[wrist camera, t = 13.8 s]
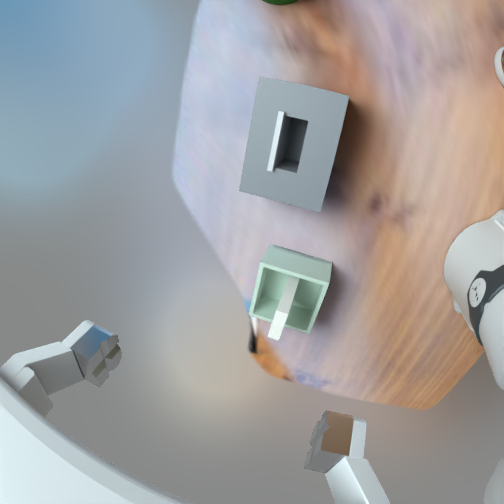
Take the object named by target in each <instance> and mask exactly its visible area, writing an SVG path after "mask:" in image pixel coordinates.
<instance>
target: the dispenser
mask: <svg viewBox="0 0 504 504" xmlns="http://www.w3.org/2000/svg"><path fill="white" fill-rule="evenodd" d="M348 99H349V96H347V95H344V94H340V93H336V92H332V91H328V90H324V89H320V88H315V87H311V86H306V85H302V84H297V83H292V82H287V81H281V80H276V79H270V78H264V77H259V81H258V86H257V92H256V97H255V103H254V108H253V114H252V119H251V125H250V131H249V136H248V142H247V148H246V154H245V160H244V165H243V171H242V177H241V183H240V189H239V191H241V192H245V193H249V194H253V195H257V196H260V197H264V198H268V199H272V200H275V201H279V202H282V203H286V204H290V205H293V206H297V207H300V208H304V209H307V210H311V211H314V212H317V213H320V211H321V208H322V204H323V200H324V197H325V193H326V189H327V185H328V182H329V178H330V174H331V170H332V166H333V162H334V158H335V154H336V150H337V146H338V142H339V138H340V134H341V130H342V126H343V121H344V117H345V113H346V108H347V104H348Z"/></svg>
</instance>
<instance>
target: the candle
mask: <svg viewBox="0 0 504 504" xmlns="http://www.w3.org/2000/svg"><path fill="white" fill-rule="evenodd" d="M263 1H264V2H267V3H270V4H275V5H285V4H290V3H293V2H295V1H297V0H263Z"/></svg>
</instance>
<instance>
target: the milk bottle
mask: <svg viewBox="0 0 504 504" xmlns="http://www.w3.org/2000/svg"><path fill="white" fill-rule="evenodd" d="M494 66H495V71H496V75H497V77H498V79H499V81H500V82H501V84H502V85H503V87H504V47H501V48H500V49H499V50H498V51H497V53H496V55H495V60H494Z"/></svg>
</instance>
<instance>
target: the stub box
mask: <svg viewBox="0 0 504 504" xmlns="http://www.w3.org/2000/svg"><path fill="white" fill-rule="evenodd" d="M331 268H332V262H329V261H326V260H323V259H319V258H316V257H313V256H309V255H306V254H303V253H300V252H296V251H293V250H290V249H286V248H283V247H279V246H276V245H273V244H270V246H269V247H268V249H267V251H266V253H265V254H264V256H263V258H262V260H261V262H260V265H259V270H258V275H257V279H256V284H255V288H254V293H253V297H252V302H251V306H250V311H249V315H250V316H253V317H256V318H259V319H262V320H265V321H268V322H271V323H272V322H273V319H274V316H275V312H276V309H277V307H278V304H279V302H280V299H281V296H282V294H283V291H284V288H285V286H286V283H287V280H288V278H289V275H292V276H295V277H298V278H300V279H299V282H298V285H297V288H296V291H295V295H294V298H293V301H292V304H291V307H290V310H289V313H288V316H287V319H286V322H285V325H284V327H287V328H291V329H294V330H297V331H300V332H304V333H307V334H310V331H311V329H312V327H313V324H314V322H315V319H316V317H317V314H318V312H319V309H320V307H321V304H322V301H323V299H324V296H325V294H326V291H327V288H328V286H329V282H330V276H331Z"/></svg>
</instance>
